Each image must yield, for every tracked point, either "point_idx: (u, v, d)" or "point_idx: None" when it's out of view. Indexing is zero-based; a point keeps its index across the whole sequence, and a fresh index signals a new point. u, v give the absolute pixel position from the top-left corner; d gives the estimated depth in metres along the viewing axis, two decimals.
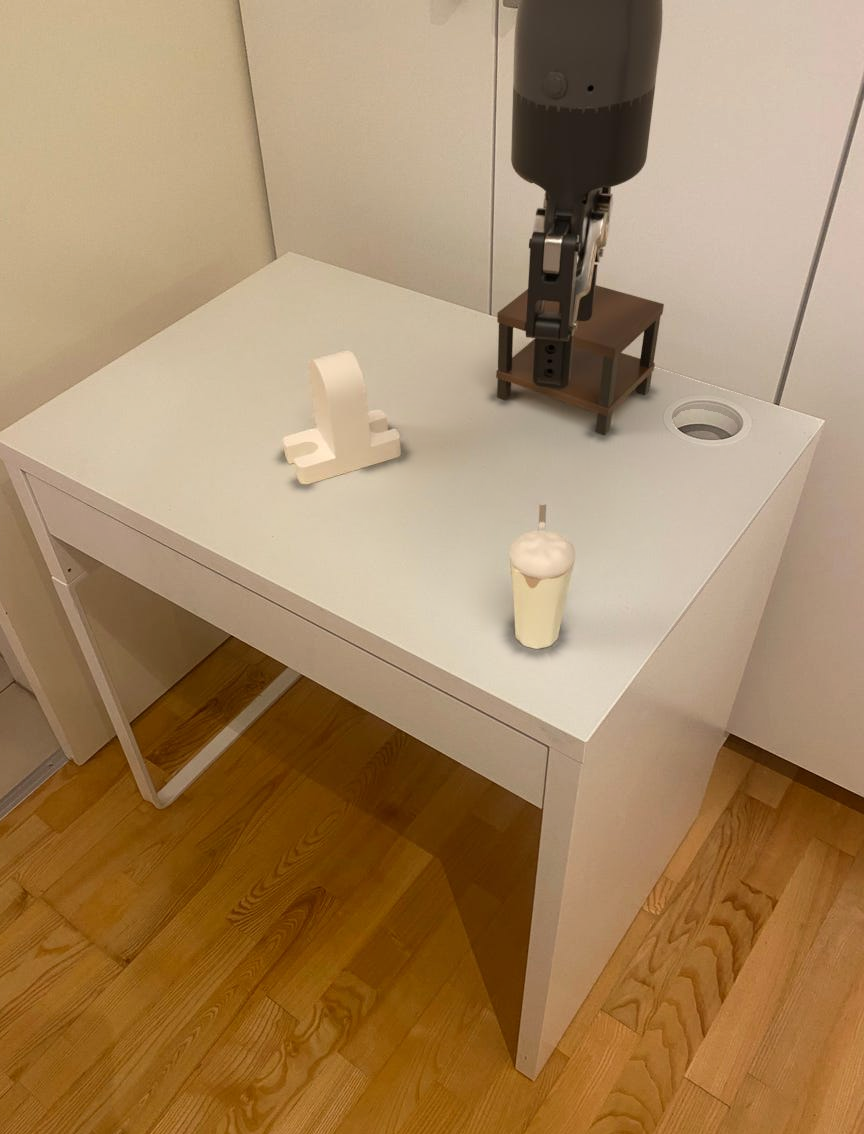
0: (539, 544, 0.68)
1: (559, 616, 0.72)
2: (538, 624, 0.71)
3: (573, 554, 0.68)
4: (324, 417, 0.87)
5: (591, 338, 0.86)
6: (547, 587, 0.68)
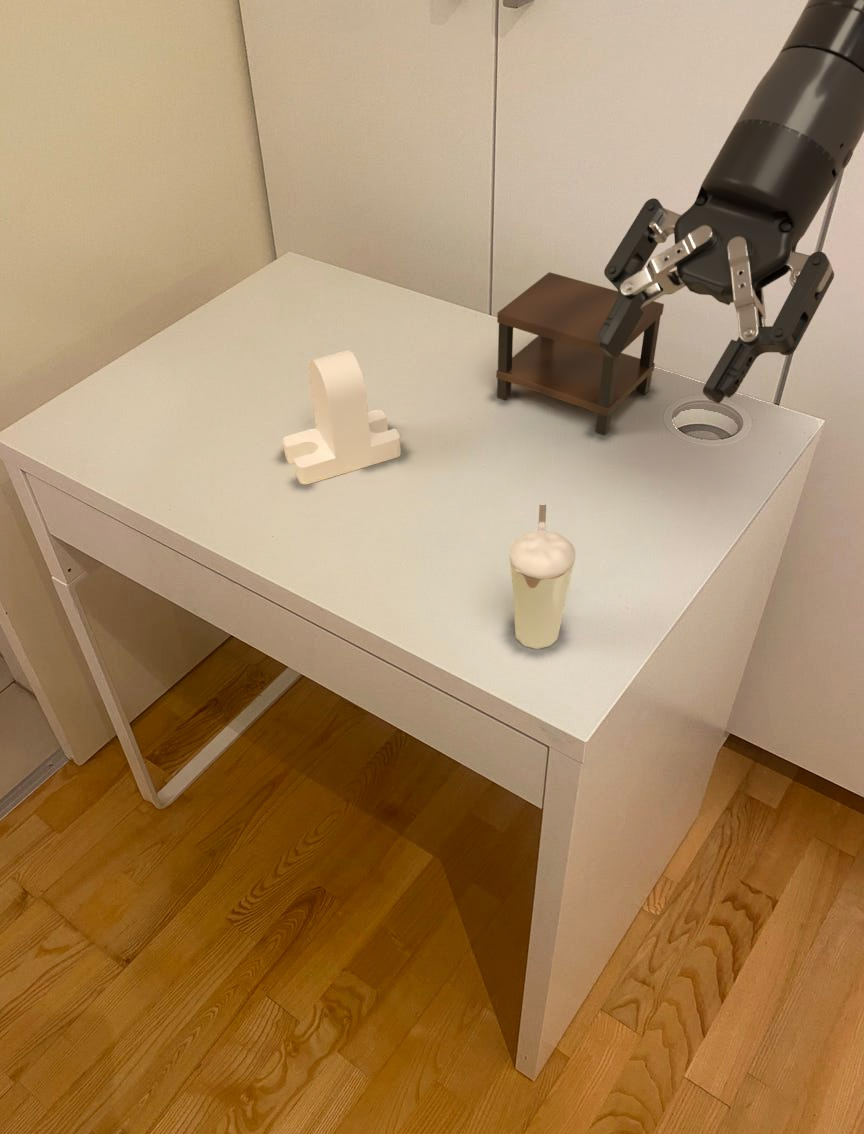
0: (539, 544, 0.68)
1: (559, 616, 0.72)
2: (538, 624, 0.71)
3: (573, 554, 0.68)
4: (324, 417, 0.87)
5: (591, 338, 0.86)
6: (547, 587, 0.68)
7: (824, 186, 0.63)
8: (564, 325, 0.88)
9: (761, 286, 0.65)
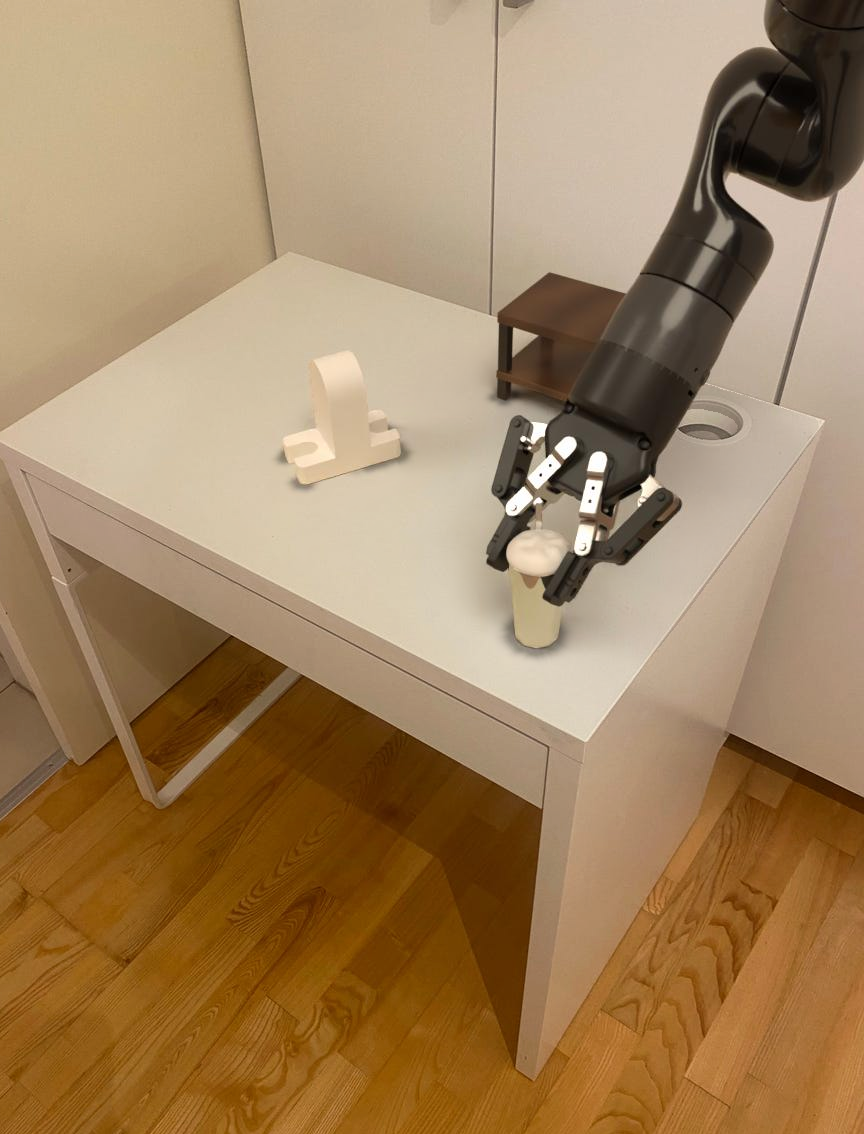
0: (536, 542, 0.68)
1: (558, 615, 0.72)
2: (537, 623, 0.71)
3: None
4: (324, 417, 0.87)
5: (591, 338, 0.86)
6: (544, 585, 0.68)
7: (681, 406, 0.64)
8: (564, 325, 0.88)
9: None
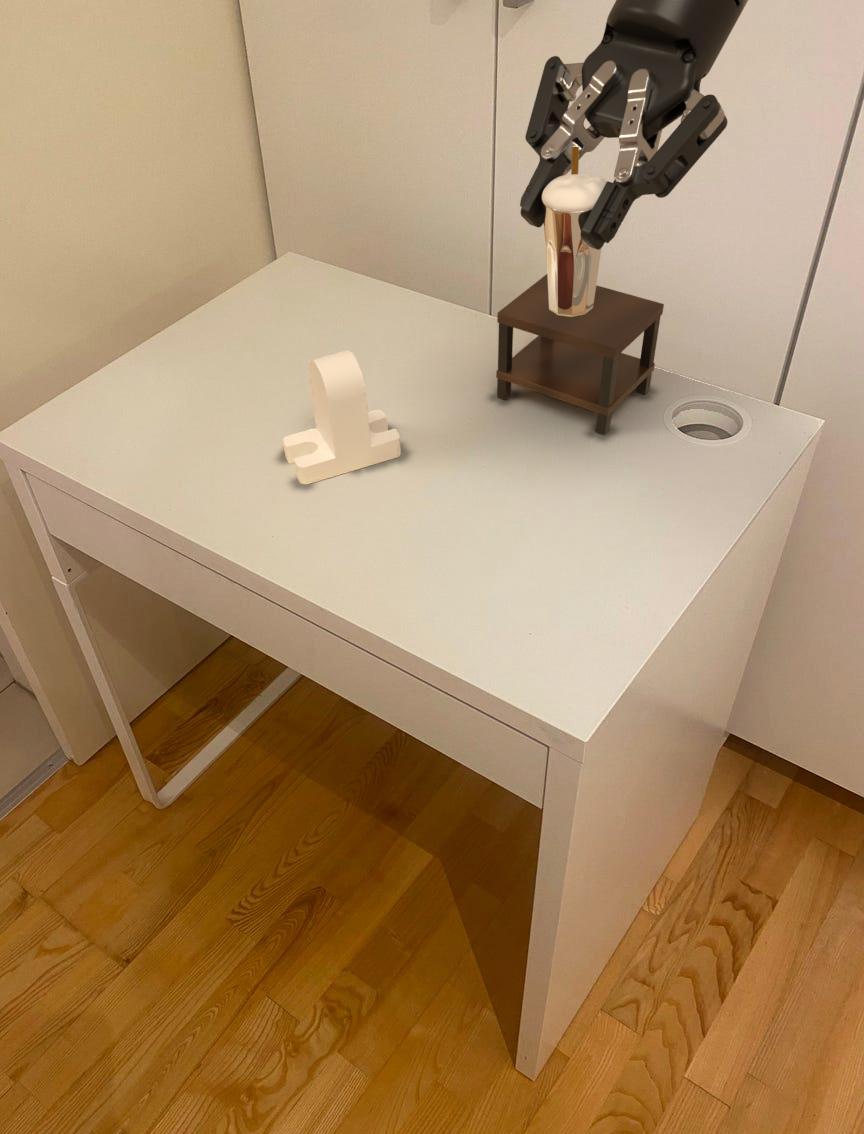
0: (573, 180, 0.65)
1: (594, 274, 0.69)
2: (573, 280, 0.69)
3: None
4: (324, 417, 0.87)
5: (591, 338, 0.86)
6: (582, 225, 0.66)
7: (727, 14, 0.62)
8: (564, 325, 0.88)
9: None
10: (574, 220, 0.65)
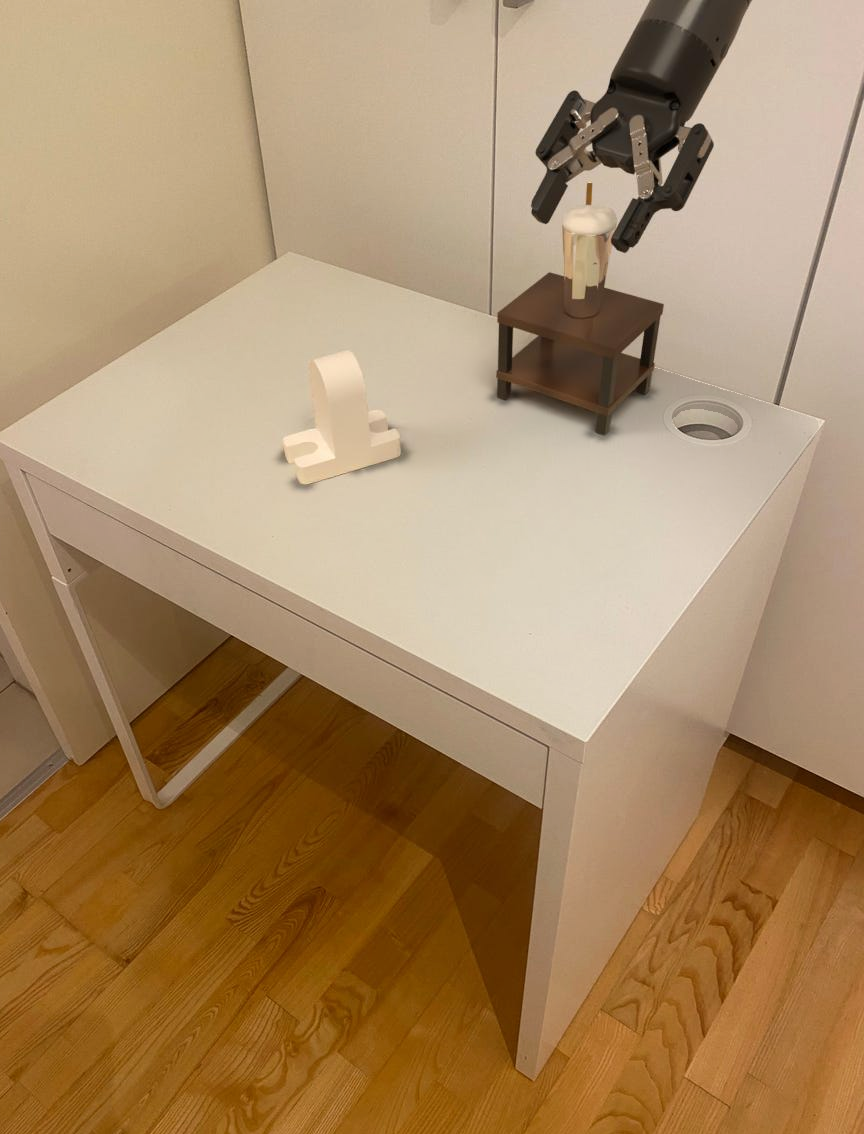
0: (587, 210, 0.83)
1: (602, 285, 0.87)
2: (585, 289, 0.86)
3: (615, 218, 0.83)
4: (324, 417, 0.87)
5: (591, 338, 0.86)
6: (594, 246, 0.83)
7: (705, 72, 0.78)
8: (564, 325, 0.88)
9: (658, 156, 0.81)
10: (587, 242, 0.83)
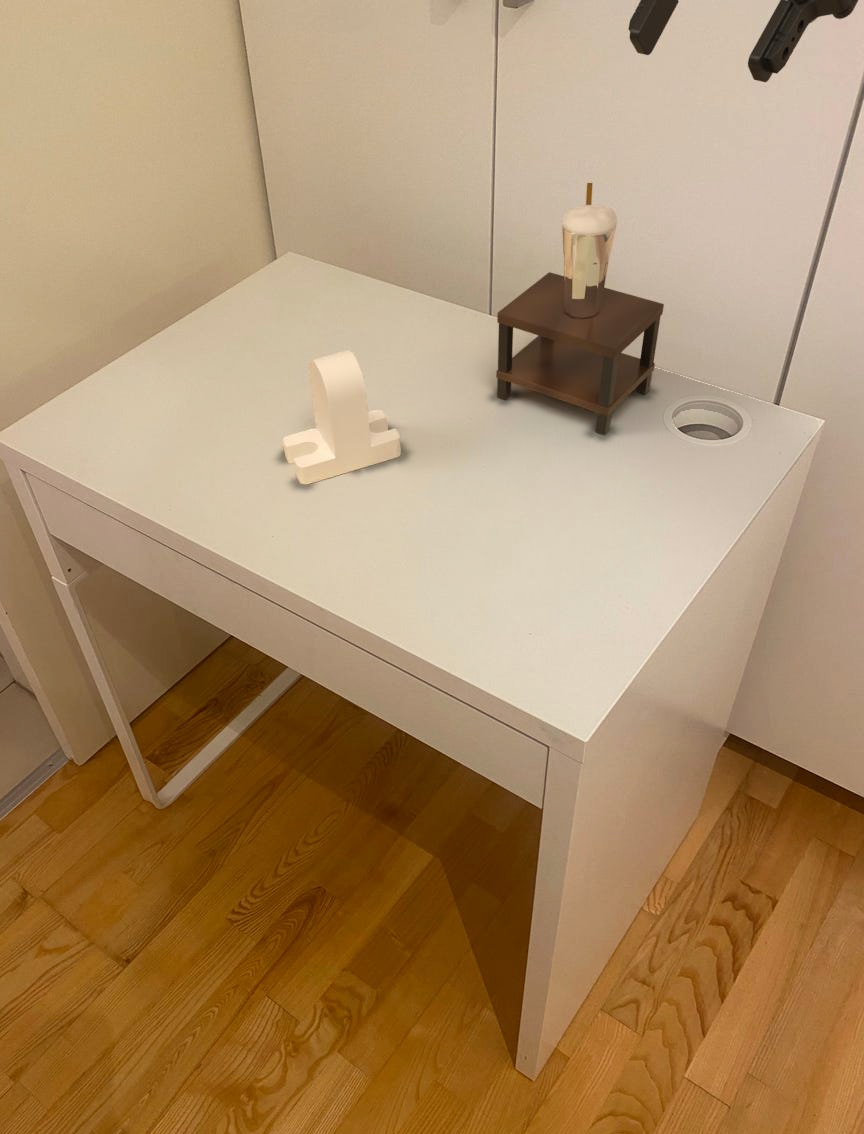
0: (588, 210, 0.83)
1: (602, 285, 0.87)
2: (585, 289, 0.86)
3: (615, 218, 0.83)
4: (324, 417, 0.87)
5: (591, 338, 0.86)
6: (594, 246, 0.83)
7: None
8: (564, 325, 0.88)
9: None
10: (587, 242, 0.83)
